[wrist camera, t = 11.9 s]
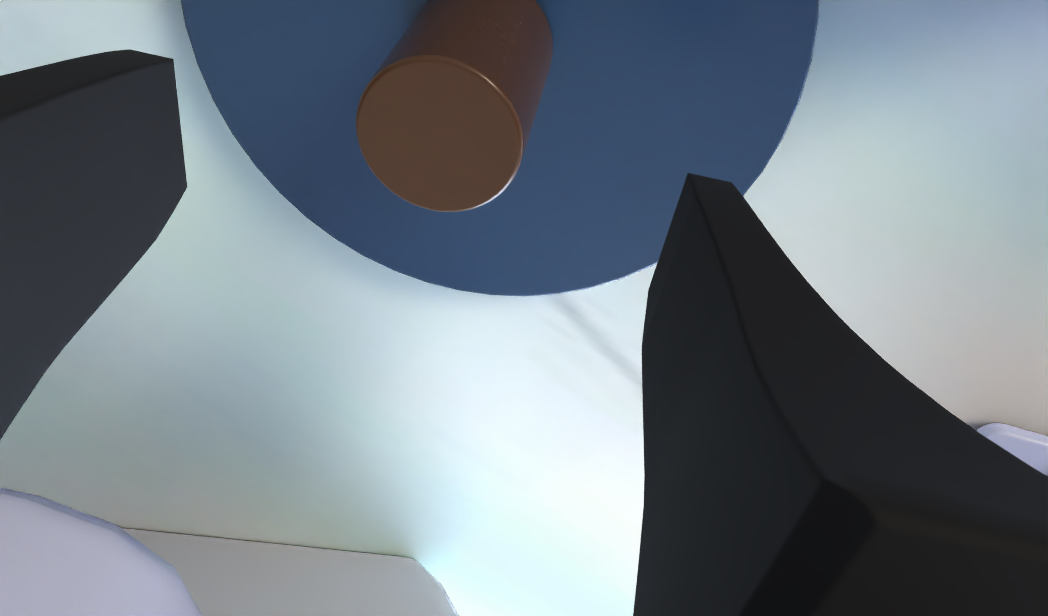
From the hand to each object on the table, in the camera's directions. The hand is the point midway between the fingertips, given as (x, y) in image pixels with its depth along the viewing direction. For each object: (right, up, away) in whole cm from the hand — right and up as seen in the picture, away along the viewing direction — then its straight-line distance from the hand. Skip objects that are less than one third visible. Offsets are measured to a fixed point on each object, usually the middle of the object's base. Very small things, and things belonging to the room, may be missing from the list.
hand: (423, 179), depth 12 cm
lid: (+1, +4, +4) cm, 6 cm away
